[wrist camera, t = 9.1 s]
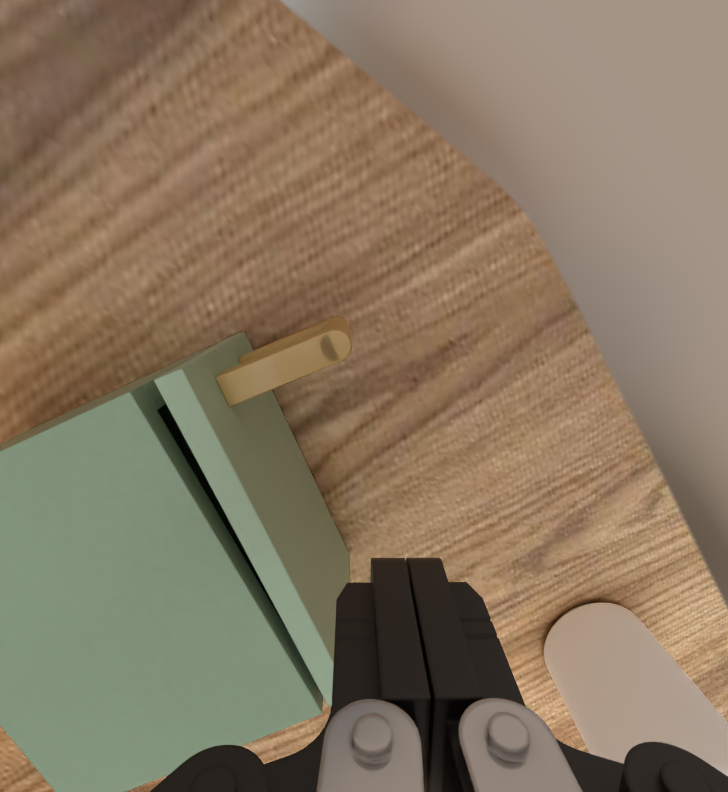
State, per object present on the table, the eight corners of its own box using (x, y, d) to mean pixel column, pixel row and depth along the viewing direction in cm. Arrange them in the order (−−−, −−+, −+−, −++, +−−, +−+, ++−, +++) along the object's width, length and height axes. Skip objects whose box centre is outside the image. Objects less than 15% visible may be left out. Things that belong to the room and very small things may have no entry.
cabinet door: (337, 291, 24) (332, 305, 15) (432, 523, 28) (477, 654, 18) (226, 338, 24) (152, 380, 15) (334, 561, 28) (328, 708, 18)
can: (655, 659, 31) (843, 894, 19) (561, 698, 31) (689, 951, 20) (623, 581, 29) (807, 786, 18) (525, 624, 30) (641, 851, 18)
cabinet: (213, 344, 25) (129, 391, 15) (330, 561, 28) (322, 714, 18) (28, 430, 25) (-167, 527, 16) (163, 631, 29) (72, 813, 19)
